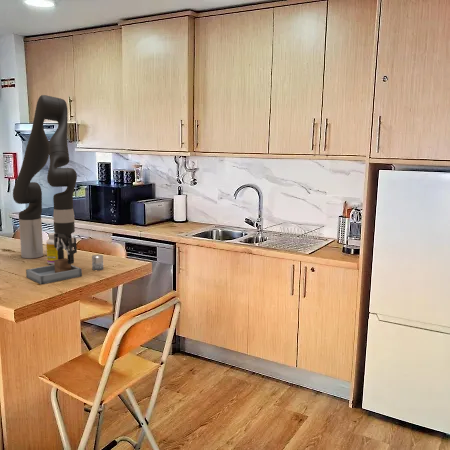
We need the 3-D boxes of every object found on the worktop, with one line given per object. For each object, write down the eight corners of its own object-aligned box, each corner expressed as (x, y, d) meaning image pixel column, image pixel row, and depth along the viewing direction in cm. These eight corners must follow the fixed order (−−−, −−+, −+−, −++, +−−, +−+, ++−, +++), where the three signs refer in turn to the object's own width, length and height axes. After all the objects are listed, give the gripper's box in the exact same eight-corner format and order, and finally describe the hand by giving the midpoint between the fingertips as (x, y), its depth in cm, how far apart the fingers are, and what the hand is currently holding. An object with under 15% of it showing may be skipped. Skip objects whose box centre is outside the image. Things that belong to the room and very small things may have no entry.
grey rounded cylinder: (90, 269, 194) (89, 255, 193) (100, 267, 197) (99, 254, 196) (95, 271, 191) (95, 257, 190) (105, 269, 194) (105, 256, 193)
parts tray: (26, 277, 181) (26, 269, 180) (66, 269, 192) (65, 262, 192) (41, 284, 172) (40, 276, 171) (81, 276, 183) (81, 268, 182)
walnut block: (65, 270, 187) (65, 258, 186) (71, 272, 184) (70, 260, 183) (54, 272, 184) (54, 260, 183) (60, 274, 181) (59, 262, 180)
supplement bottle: (58, 265, 199) (57, 235, 197) (44, 264, 200) (42, 234, 198) (66, 261, 205) (65, 232, 203) (53, 260, 207) (51, 231, 205)
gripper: (82, 221, 179) (83, 263, 182) (65, 217, 189) (66, 256, 192) (62, 223, 174) (64, 266, 177) (46, 219, 184) (48, 259, 187)
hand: (65, 261), depth 185 cm, fingers open, 8 cm apart
